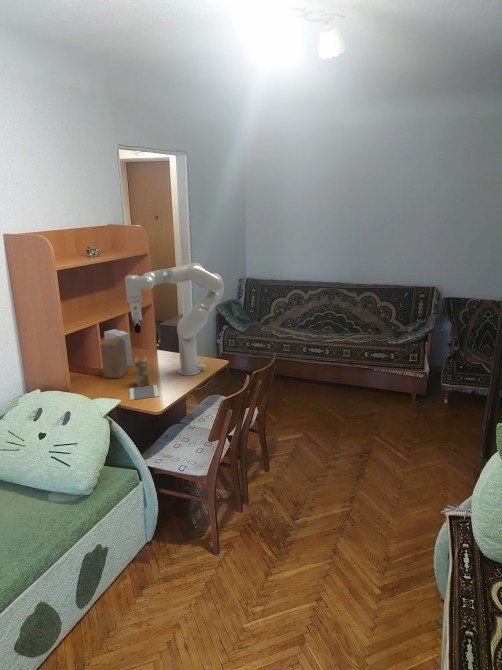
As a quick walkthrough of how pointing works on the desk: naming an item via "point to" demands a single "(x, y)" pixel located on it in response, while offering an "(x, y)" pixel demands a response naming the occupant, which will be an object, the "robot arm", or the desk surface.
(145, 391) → the mat
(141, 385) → the walnut block
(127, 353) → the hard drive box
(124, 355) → the wooden block
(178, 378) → the desk surface
